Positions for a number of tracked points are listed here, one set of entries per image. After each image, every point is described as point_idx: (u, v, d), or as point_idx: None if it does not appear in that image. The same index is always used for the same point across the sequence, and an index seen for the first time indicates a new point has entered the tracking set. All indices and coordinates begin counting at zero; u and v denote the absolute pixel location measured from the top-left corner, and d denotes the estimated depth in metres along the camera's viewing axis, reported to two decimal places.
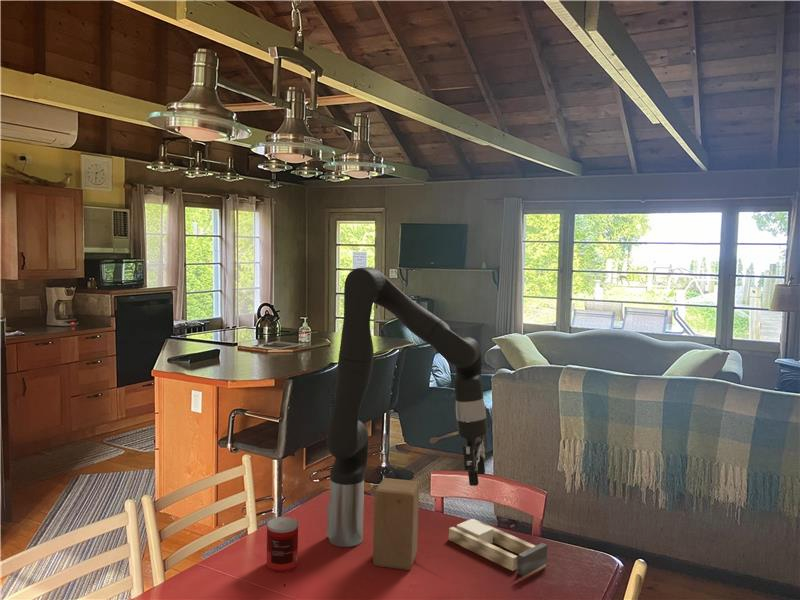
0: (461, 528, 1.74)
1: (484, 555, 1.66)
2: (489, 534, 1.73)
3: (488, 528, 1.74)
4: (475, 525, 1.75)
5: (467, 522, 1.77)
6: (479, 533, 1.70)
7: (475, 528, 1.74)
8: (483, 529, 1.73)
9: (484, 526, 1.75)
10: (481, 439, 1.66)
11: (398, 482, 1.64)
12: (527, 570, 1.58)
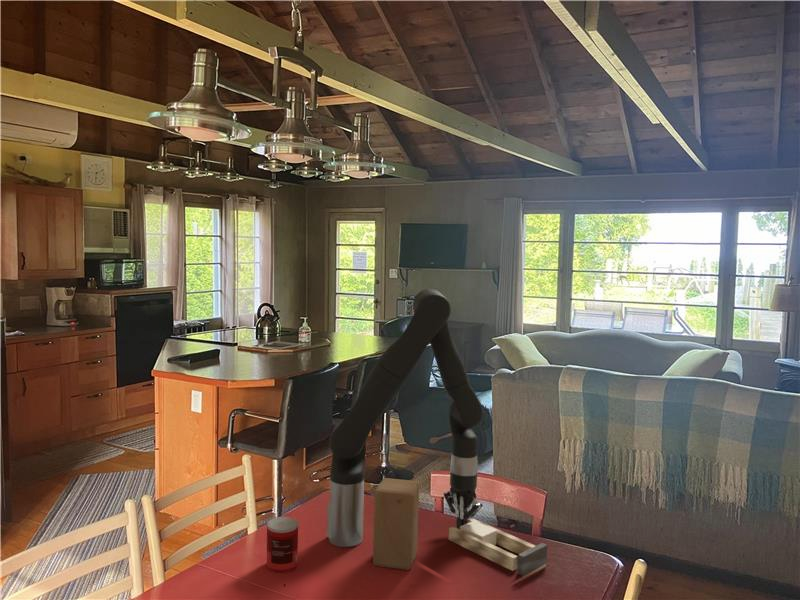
0: (464, 530, 1.73)
1: (484, 555, 1.66)
2: (493, 536, 1.72)
3: (491, 530, 1.73)
4: (478, 527, 1.74)
5: (470, 523, 1.76)
6: (483, 535, 1.70)
7: (479, 529, 1.73)
8: (487, 531, 1.72)
9: (487, 528, 1.74)
10: None
11: (398, 482, 1.64)
12: (527, 570, 1.58)
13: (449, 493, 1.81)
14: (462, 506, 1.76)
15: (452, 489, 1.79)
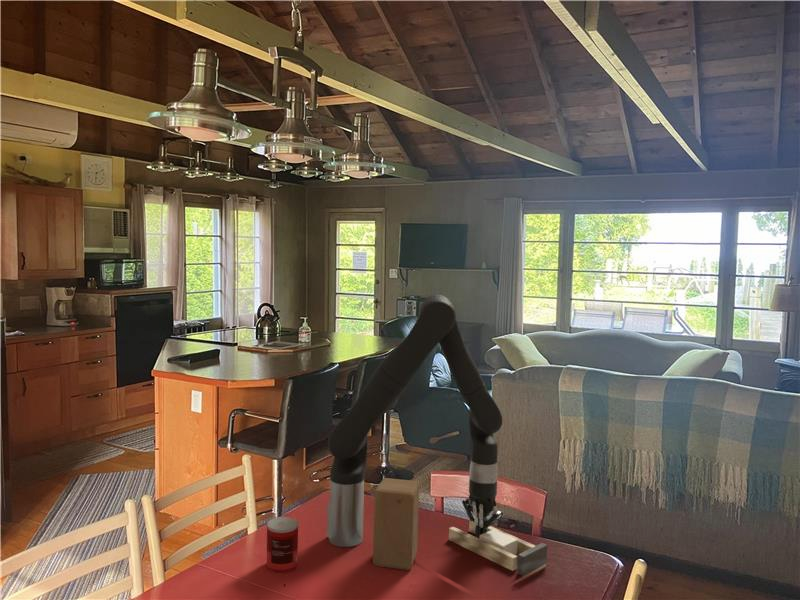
0: (484, 539, 1.68)
1: (484, 555, 1.66)
2: (513, 545, 1.67)
3: (512, 539, 1.68)
4: (499, 536, 1.69)
5: (490, 532, 1.71)
6: (504, 544, 1.64)
7: (499, 538, 1.68)
8: (507, 540, 1.67)
9: (508, 537, 1.69)
10: None
11: (398, 482, 1.64)
12: (527, 570, 1.58)
13: (468, 501, 1.76)
14: (482, 514, 1.71)
15: (471, 497, 1.74)
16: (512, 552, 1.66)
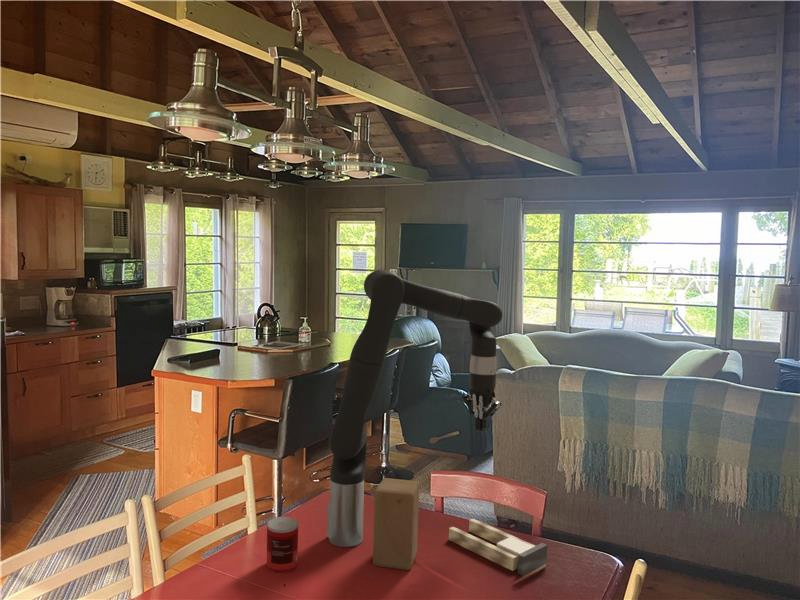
0: (502, 547, 1.64)
1: (484, 555, 1.66)
2: None
3: (530, 547, 1.63)
4: (516, 544, 1.65)
5: (507, 540, 1.67)
6: (522, 552, 1.60)
7: (517, 546, 1.63)
8: (526, 548, 1.62)
9: (526, 544, 1.65)
10: None
11: (398, 482, 1.64)
12: (527, 570, 1.58)
13: (468, 395, 1.85)
14: (481, 405, 1.80)
15: (471, 391, 1.83)
16: None
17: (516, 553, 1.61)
